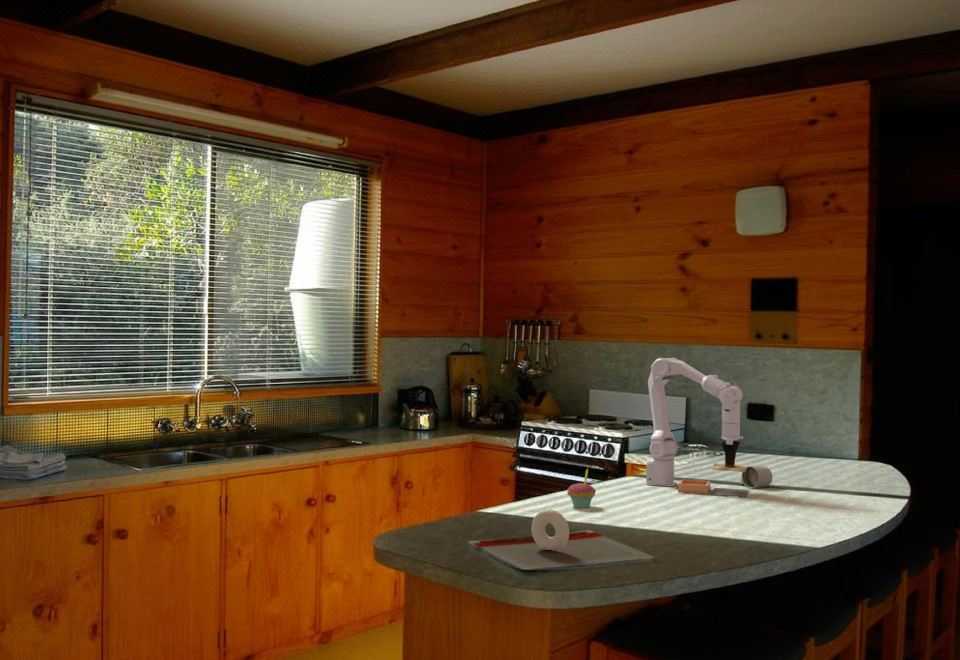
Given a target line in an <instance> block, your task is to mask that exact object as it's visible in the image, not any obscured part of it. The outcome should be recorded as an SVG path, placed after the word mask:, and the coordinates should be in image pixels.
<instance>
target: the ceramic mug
mask: <svg viewBox="0 0 960 660" xmlns="http://www.w3.org/2000/svg"><path fill="white" fill-rule="evenodd" d="M746 466H747V467H746V472H741V478H740V479H739V484H740V485H741V486H745V488H748V489H750V488H753V489H759V488H760V487H761V488H766V487H768V486H769V485H771V484H772V482H773V473H772V471H771V469H770V468H769V467H768V466H763V465H746ZM742 484H744V485H742Z"/></svg>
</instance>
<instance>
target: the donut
mask: <svg viewBox="0 0 960 660" xmlns="http://www.w3.org/2000/svg"><path fill="white" fill-rule="evenodd" d="M548 524H549V525H552V526H553V528H554V531H555V533H554V535H553V536H550V535H549V534H547V532H546V526H547V525H548ZM530 528H531V535H532V537H533V540H534V541H535V543H536V544H537V545H538V547H540V548H541V549H543V550H544V549H546V550H545V551H547V550H552V551H551V552H556V551H559V550H561V549H562V548H563V547H565V546H566V544H567V542H568V541H569V537H570V527H569V524H568V522H567V519H566V518H565V517H564V516H563V514H561V512H559V511H558V510H555V509H551V508H550V509H543V510H541V511H539V512H537V514H535V516H534V517H533V520H532V522H531V527H530Z"/></svg>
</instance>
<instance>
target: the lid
mask: <svg viewBox="0 0 960 660" xmlns="http://www.w3.org/2000/svg"><path fill="white" fill-rule="evenodd" d="M747 466H748V465H741V464H738V465H737V464H736V460H735V461H734V464H733V465H727V463H726V458H725V457H724V463H713V466H712V470H716V471H727V472H739V473H742V472H746V467H747Z"/></svg>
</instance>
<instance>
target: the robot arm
mask: <svg viewBox="0 0 960 660" xmlns="http://www.w3.org/2000/svg"><path fill="white" fill-rule="evenodd" d="M678 375H682V376H684V377H686V378H688V379H690V380H691V381H694V382H695V383H698V384H700V385H701V388H702V390H703V391H705V392H707V393H708V394H710V395H712V396H714V397H716V398H717V399H719V401H720V402H721V435H720V438H721V439H722V440H725V441H722V442H721V443H720V445H721V447H722V449H723V453H724V459H725V458H726V463H727V465H733V464H734V461H735V462H736V455H737V451H738V447H739V446H740V444H741V442H740V441H739V440H744V436H742V435H740V434H741V433H740V430H741V428H740V427H741V426H740V425H741V402H742V400H743V397H744V393H743V390H742V389H741V388H740V387H739V386H738V385H731V383H730V382H725V381H724V380H722V379H720V378H719V376H718V375H716V374H714V375H713V374H709V375H705V374H704V373H702V372H701V371H699V370H698V369H696V368H694V367H692V366H690V365H689V364H688V363H686V362H684V361H683V360H679V359H678V358H676V357H668V358H665V357H664V358H663V357H660V358H657V359H655V360H654V361H653V363H652V364H651V365H650V373H649V377H648V379H647V387H648V394H649V402H650V411H651V417H652V425H653V433H652V435H651V436H650V445H649V452H650V453H649V454H650V455H651V456H652V457H650V458H647V459H646V465H645V466H646V467H645V468H646V469H645V471H646V473H645V475H646V476H645V478H646V481H645V482H646V483H645V484H646V485H648V486H649V485H650V486H665V487H675V485H676V484H677V481H675V455H677V453H678V450H679V447H678V443H677V441H676V440H675V435H674V433H673V432H672V431H671V429H670V422H669V414H668V406H667V405H668V404H667V397H666V391H665V385H666V384H667V383H668V382H669V380H671V379H672V378H674V377H676V376H678Z"/></svg>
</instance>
